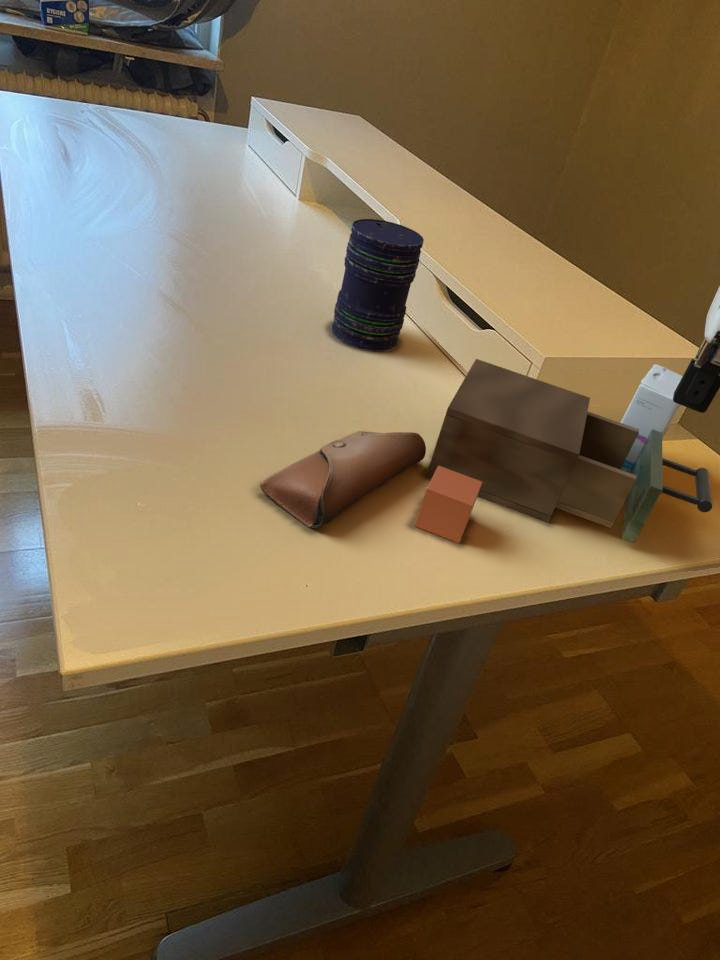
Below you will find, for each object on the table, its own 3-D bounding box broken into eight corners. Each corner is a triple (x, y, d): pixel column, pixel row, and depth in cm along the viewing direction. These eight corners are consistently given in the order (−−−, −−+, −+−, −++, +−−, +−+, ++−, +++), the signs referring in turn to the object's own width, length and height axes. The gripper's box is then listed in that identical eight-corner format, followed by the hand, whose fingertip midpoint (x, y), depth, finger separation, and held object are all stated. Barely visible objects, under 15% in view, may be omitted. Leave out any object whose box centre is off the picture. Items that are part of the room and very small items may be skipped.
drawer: (685, 499, 85) (713, 450, 81) (689, 563, 74) (722, 511, 70) (533, 444, 88) (553, 395, 84) (516, 499, 77) (538, 445, 73)
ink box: (636, 488, 86) (682, 401, 80) (596, 469, 88) (637, 382, 81) (651, 460, 93) (695, 377, 86) (613, 443, 94) (653, 360, 88)
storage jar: (410, 350, 104) (438, 247, 96) (349, 353, 100) (373, 244, 91) (377, 319, 111) (401, 220, 103) (319, 320, 106) (338, 216, 98)
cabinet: (563, 459, 88) (590, 397, 83) (548, 522, 77) (579, 454, 72) (455, 421, 90) (476, 358, 86) (425, 476, 79) (447, 407, 74)
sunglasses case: (361, 426, 83) (398, 396, 79) (397, 477, 83) (436, 449, 79) (252, 486, 70) (289, 453, 66) (295, 547, 70) (334, 518, 65)
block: (469, 518, 74) (482, 481, 72) (459, 543, 71) (473, 505, 68) (426, 501, 75) (438, 465, 73) (414, 526, 71) (426, 488, 69)
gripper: (853, 247, 54) (726, 453, 64) (832, 213, 66) (728, 391, 76) (749, 213, 55) (642, 419, 66) (747, 186, 67) (656, 364, 78)
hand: (688, 404), depth 71 cm, fingers closed
